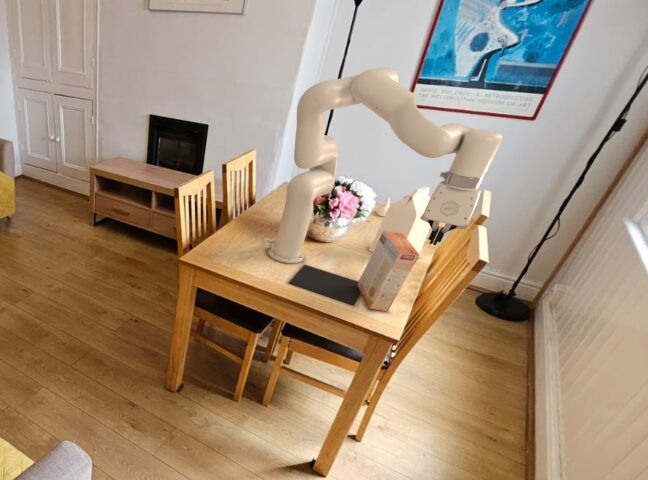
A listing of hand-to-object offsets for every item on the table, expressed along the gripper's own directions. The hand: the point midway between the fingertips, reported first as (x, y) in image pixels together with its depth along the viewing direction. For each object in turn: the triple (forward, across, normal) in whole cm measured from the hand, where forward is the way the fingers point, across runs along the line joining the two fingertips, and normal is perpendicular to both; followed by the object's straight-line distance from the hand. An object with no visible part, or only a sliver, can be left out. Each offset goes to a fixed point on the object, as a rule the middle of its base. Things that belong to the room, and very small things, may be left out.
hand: (433, 242), depth 128 cm
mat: (+23, -22, 0) cm, 32 cm away
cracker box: (+23, -9, 0) cm, 25 cm away
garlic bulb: (+23, -21, +77) cm, 83 cm away
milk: (+23, -10, +39) cm, 47 cm away
